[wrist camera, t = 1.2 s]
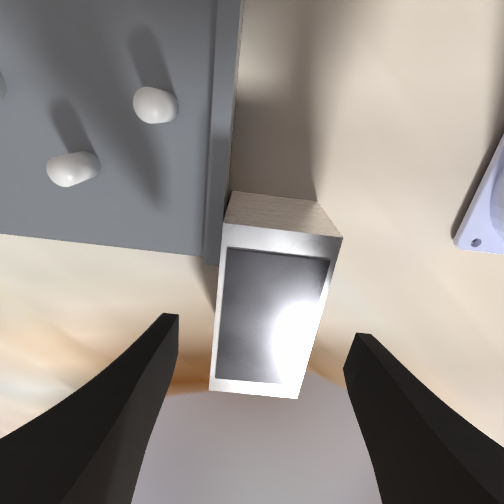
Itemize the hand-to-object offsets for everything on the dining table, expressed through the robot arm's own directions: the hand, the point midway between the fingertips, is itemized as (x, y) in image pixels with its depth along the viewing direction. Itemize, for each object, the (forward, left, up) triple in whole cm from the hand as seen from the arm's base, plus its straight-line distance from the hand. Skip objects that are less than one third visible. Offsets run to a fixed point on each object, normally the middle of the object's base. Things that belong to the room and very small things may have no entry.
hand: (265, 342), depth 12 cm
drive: (0, 0, -6) cm, 6 cm away
